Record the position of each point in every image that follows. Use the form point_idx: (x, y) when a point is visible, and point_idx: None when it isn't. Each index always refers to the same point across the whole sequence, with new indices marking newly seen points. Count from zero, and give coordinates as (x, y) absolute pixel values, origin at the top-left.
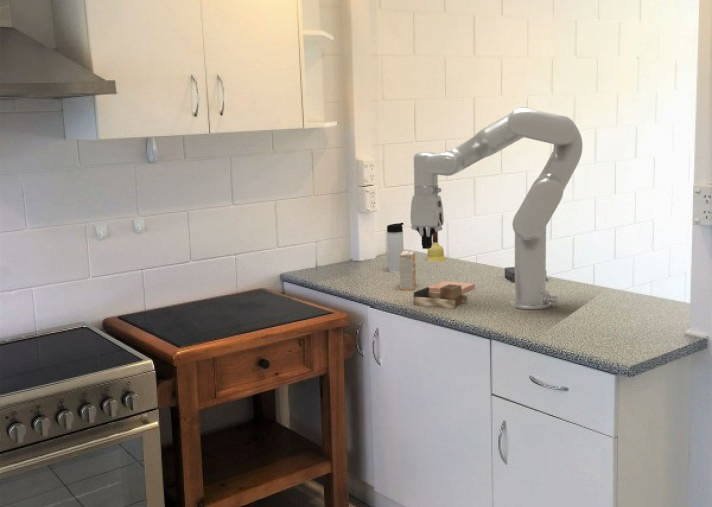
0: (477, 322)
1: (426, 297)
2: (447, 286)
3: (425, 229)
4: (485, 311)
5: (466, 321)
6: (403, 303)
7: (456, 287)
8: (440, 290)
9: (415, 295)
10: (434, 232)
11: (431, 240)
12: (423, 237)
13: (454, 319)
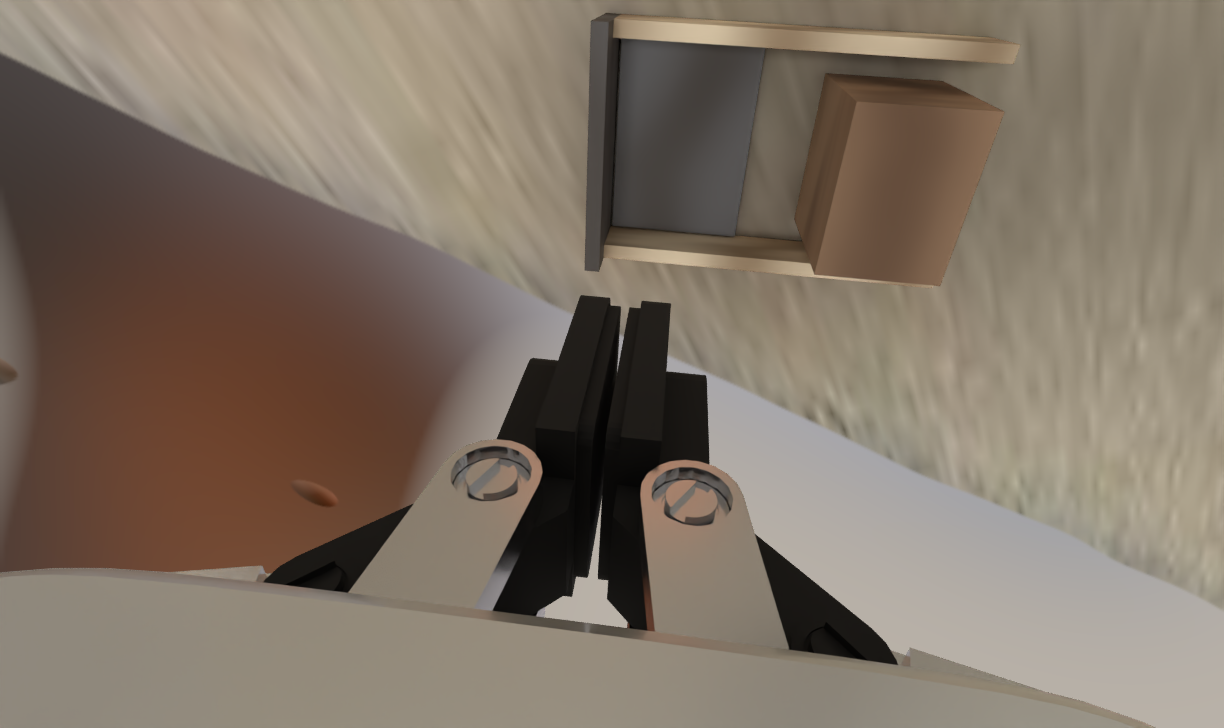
0: (1103, 501)
1: (616, 71)
2: (867, 204)
3: (486, 604)
4: (1160, 271)
5: (1036, 497)
6: (516, 226)
7: (964, 217)
8: (813, 264)
9: (602, 258)
10: (806, 604)
11: (704, 446)
12: (572, 579)
13: (962, 478)
